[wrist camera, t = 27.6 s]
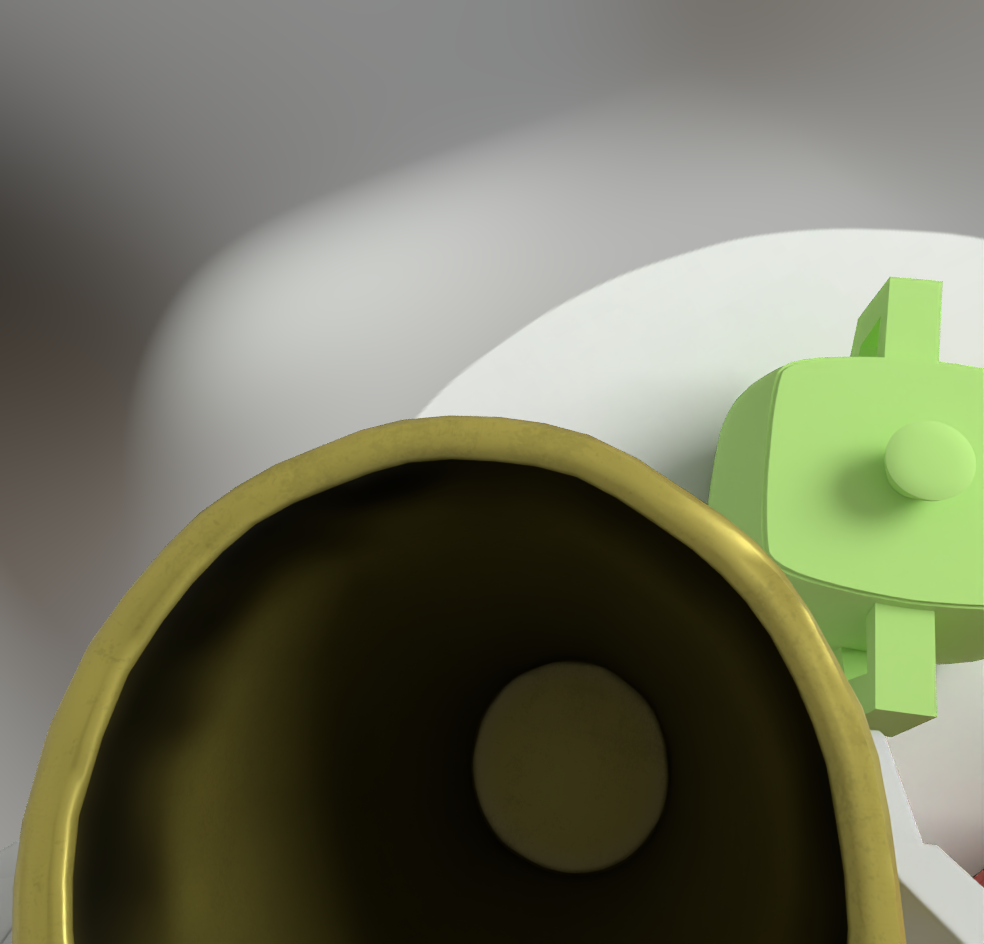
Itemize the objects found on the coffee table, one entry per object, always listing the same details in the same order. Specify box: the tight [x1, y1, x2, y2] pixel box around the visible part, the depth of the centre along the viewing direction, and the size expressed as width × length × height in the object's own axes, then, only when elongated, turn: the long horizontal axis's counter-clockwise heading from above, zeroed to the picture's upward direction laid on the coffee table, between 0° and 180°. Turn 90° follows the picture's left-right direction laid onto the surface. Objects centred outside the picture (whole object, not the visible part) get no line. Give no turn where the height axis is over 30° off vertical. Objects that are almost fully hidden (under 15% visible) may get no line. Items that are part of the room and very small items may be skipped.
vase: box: [12, 416, 906, 944], centre depth 11 cm, size 6×6×14 cm
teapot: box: [708, 277, 984, 737], centre depth 36 cm, size 18×20×13 cm
